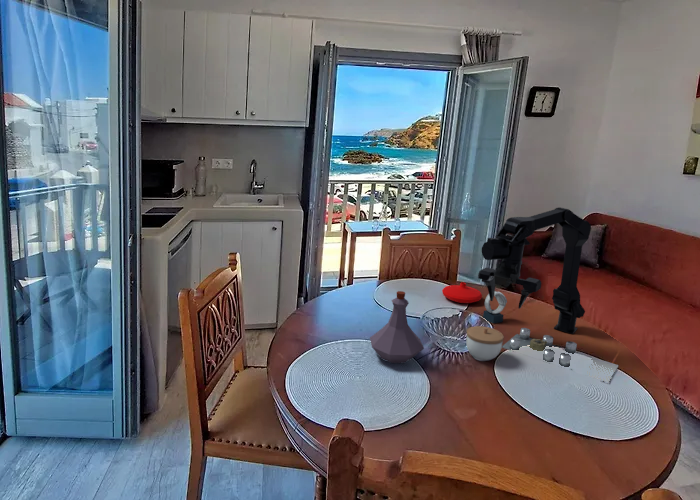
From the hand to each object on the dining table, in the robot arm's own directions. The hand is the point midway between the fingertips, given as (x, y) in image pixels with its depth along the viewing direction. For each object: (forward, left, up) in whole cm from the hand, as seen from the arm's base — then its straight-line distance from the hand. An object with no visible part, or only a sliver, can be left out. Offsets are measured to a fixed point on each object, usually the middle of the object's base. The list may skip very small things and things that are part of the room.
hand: (505, 304), depth 158 cm
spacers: (0, +14, -12) cm, 18 cm away
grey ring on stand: (-13, -8, -12) cm, 20 cm away
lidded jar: (+17, +1, -12) cm, 21 cm away
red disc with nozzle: (-25, -26, -12) cm, 39 cm away
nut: (0, +12, -12) cm, 17 cm away
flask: (+35, -18, -12) cm, 42 cm away
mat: (0, +18, -12) cm, 22 cm away
